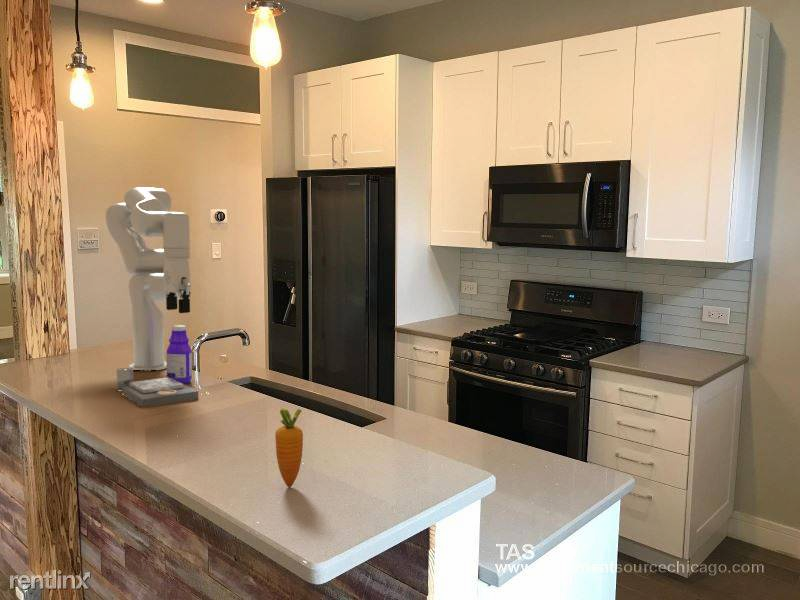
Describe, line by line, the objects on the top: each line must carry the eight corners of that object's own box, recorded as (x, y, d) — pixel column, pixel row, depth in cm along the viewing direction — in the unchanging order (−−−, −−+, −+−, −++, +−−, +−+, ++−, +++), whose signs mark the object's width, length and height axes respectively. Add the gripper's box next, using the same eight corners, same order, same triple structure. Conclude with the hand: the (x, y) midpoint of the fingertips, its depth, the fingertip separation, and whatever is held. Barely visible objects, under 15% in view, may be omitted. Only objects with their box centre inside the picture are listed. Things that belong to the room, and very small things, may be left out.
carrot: (304, 482, 125) (304, 403, 124) (301, 492, 120) (301, 411, 119) (277, 482, 125) (277, 403, 123) (273, 492, 120) (273, 411, 118)
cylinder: (115, 389, 193) (114, 369, 192) (130, 387, 196) (130, 367, 195) (119, 392, 190) (119, 371, 189) (135, 390, 193) (135, 369, 192)
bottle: (195, 380, 205) (193, 324, 204) (187, 385, 200) (186, 327, 198) (172, 379, 206) (171, 324, 204) (164, 384, 201) (162, 326, 199)
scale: (122, 394, 187) (121, 385, 187) (174, 387, 197) (174, 378, 197) (143, 407, 174) (142, 397, 174) (198, 398, 184) (198, 389, 184)
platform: (129, 385, 188) (129, 382, 188) (168, 380, 195) (168, 377, 195) (143, 393, 180) (143, 389, 180) (183, 387, 187) (183, 384, 187)
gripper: (153, 253, 203) (155, 309, 205) (175, 255, 190) (176, 315, 191) (178, 252, 208) (179, 307, 209) (200, 254, 194) (201, 313, 196)
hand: (178, 311), depth 200 cm, fingers open, 9 cm apart
